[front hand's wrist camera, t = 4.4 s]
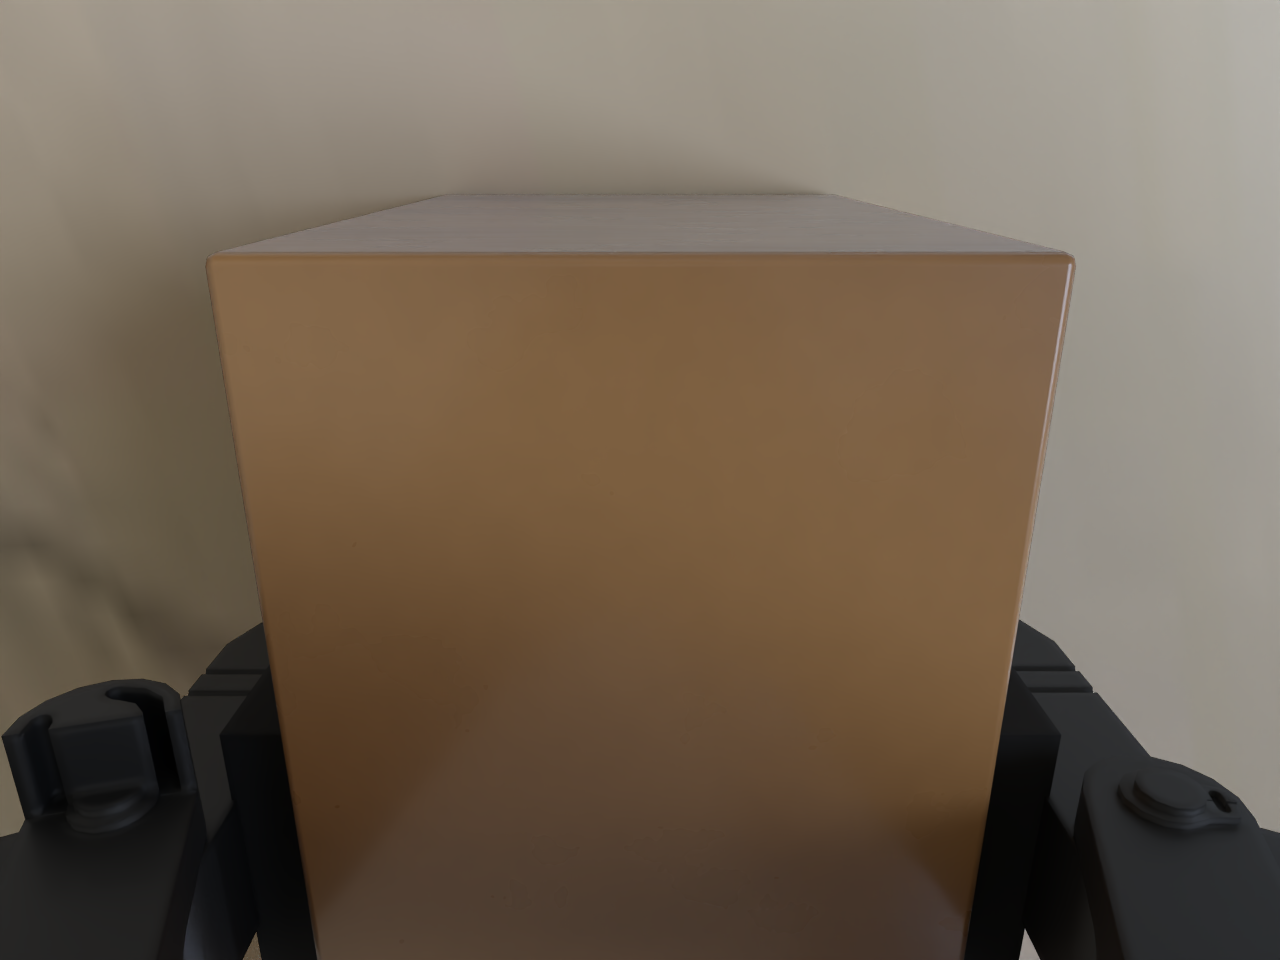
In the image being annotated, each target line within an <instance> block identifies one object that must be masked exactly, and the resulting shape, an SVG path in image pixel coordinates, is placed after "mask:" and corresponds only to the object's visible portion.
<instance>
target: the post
mask: <svg viewBox="0 0 1280 960" xmlns="http://www.w3.org/2000/svg"><path fill="white" fill-rule="evenodd" d="M1075 268H1076V265H1075V259H1074V257H1073V255H1070V254H1068V253H1066V252H1063V251H1059V250H1055V249H1051V248H1047V247H1043V246H1039V245H1035V244H1031V243H1027V242H1023V241H1019V240H1015V239H1011V238H1007V237H1003V236H999V235H995V234H991V233H987V232H983V231H979V230H975V229H971V228H967V227H963V226H959V225H954V224H950V223H946V222H942V221H938V220H934V219H930V218H926V217H922V216H918V215H914V214H910V213H906V212H902V211H898V210H894V209H890V208H886V207H882V206H878V205H874V204H870V203H866V202H862V201H858V200H854V199H850V198H846V197H842V196H837V195H833V194H745V195H443V196H439V197H435V198H431V199H427V200H423V201H419V202H415V203H411V204H407V205H403V206H399V207H395V208H391V209H387V210H383V211H379V212H375V213H371V214H367V215H363V216H359V217H355V218H351V219H347V220H343V221H339V222H335V223H331V224H327V225H323V226H319V227H315V228H311V229H307V230H303V231H299V232H295V233H291V234H287V235H283V236H279V237H275V238H271V239H267V240H263V241H259V242H255V243H251V244H247V245H243V246H239V247H235V248H231V249H227V250H223V251H219V252H216V253H214V254H211V255H209V256H208V257H207V261H206V272H207V279H208V285H209V291H210V297H211V303H212V310H213V316H214V322H215V328H216V334H217V341H218V347H219V353H220V359H221V365H222V372H223V378H224V384H225V390H226V396H227V403H228V409H229V415H230V421H231V427H232V434H233V440H234V446H235V452H236V458H237V465H238V471H239V477H240V483H241V489H242V496H243V502H244V508H245V514H246V520H247V527H248V533H249V539H250V545H251V551H252V558H253V564H254V570H255V576H256V582H257V589H258V595H259V601H260V607H261V613H262V620H263V626H264V632H265V638H266V644H267V650H268V657H269V663H270V669H271V675H272V681H273V688H274V694H275V700H276V706H277V712H278V719H279V725H280V731H281V737H282V743H283V750H284V756H285V762H286V768H287V774H288V781H289V787H290V793H291V799H292V805H293V812H294V818H295V824H296V830H297V836H298V843H299V849H300V855H301V861H302V867H303V874H304V880H305V886H306V892H307V898H308V905H309V911H310V917H311V923H312V929H313V936H314V942H315V948H316V954H317V960H964V955H965V949H966V943H967V937H968V930H969V924H970V918H971V912H972V906H973V900H974V893H975V887H976V881H977V875H978V869H979V862H980V856H981V850H982V844H983V838H984V831H985V825H986V819H987V813H988V807H989V801H990V794H991V788H992V782H993V776H994V770H995V763H996V757H997V751H998V745H999V739H1000V732H1001V726H1002V720H1003V714H1004V708H1005V702H1006V695H1007V689H1008V683H1009V677H1010V671H1011V664H1012V658H1013V652H1014V646H1015V640H1016V633H1017V627H1018V621H1019V615H1020V609H1021V602H1022V596H1023V590H1024V584H1025V578H1026V572H1027V565H1028V559H1029V553H1030V547H1031V541H1032V534H1033V528H1034V522H1035V516H1036V510H1037V503H1038V497H1039V491H1040V485H1041V479H1042V473H1043V466H1044V460H1045V454H1046V448H1047V442H1048V435H1049V429H1050V423H1051V417H1052V411H1053V404H1054V398H1055V392H1056V386H1057V380H1058V374H1059V367H1060V361H1061V355H1062V349H1063V343H1064V336H1065V330H1066V324H1067V318H1068V312H1069V305H1070V299H1071V293H1072V287H1073V281H1074V274H1075Z"/></svg>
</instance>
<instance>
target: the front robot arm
mask: <svg viewBox="0 0 1280 960" xmlns="http://www.w3.org/2000/svg"><path fill="white" fill-rule="evenodd" d="M1092 689H1093V687H1092V686H1091V685H1090V684H1089V682H1088V681H1087V680H1086V679H1085V678H1084V676H1083V675H1082V674H1081V673H1080V672H1079V671H1075V666H1074V664H1073V663H1072V662H1071V661H1070V660H1069V658H1068V657H1067V656H1066V655H1065V654H1064V652H1063V651H1062V650H1061V649H1060V648H1059V647H1058V645H1057V644H1056V643H1055V642H1054V641H1053V640H1051V639H1050V638H1048V637H1046V636H1045V635H1043V634H1042V633H1040V632H1038V631H1037V630H1035V629H1034V628H1032V627H1030V626H1029V625H1027V624H1025V623H1024V622H1022V621H1021V620H1019V621H1018V627H1017V633H1016V640H1015V646H1014V652H1013V658H1012V664H1011V671H1010V677H1009V683H1008V689H1007V695H1006V702H1005V708H1004V714H1003V720H1002V726H1001V732H1000V739H999V745H998V751H997V757H996V763H995V770H994V776H993V782H992V788H991V794H990V801H989V807H988V813H987V819H986V825H985V831H984V838H983V844H982V850H981V856H980V862H979V869H978V875H977V881H976V887H975V893H974V900H973V906H972V912H971V918H970V924H969V930H968V937H967V943H966V949H965V955H964V960H1019V956H1020V951H1021V946H1022V940H1023V935H1024V930H1025V929H1026V931H1027V933H1028V935H1029V937H1030V939H1031V941H1032V943H1033V946H1034V948H1035V950H1036V952H1037V954H1038V956H1039V958H1040V960H1280V833H1278V832H1274V831H1270V830H1267V829H1263V828H1259V826H1258V824H1257V821H1256V819H1255V818H1254V816H1253V815H1252V814H1251V813H1250V811H1249V810H1248V809H1247V808H1246V806H1245V805H1244V804H1243V802H1242V801H1241V800H1240V799H1239V797H1237V796H1236V795H1234V794H1233V793H1232V792H1230V791H1229V790H1227V789H1226V788H1225V787H1223V786H1222V785H1221V784H1219V783H1218V782H1216V781H1215V780H1214V779H1212V778H1210V777H1207V776H1205V775H1203V774H1201V773H1199V772H1197V771H1194V770H1192V769H1190V768H1188V767H1186V766H1183V765H1181V764H1177V763H1173V762H1169V761H1165V760H1161V759H1157V758H1154V757H1150V755H1149V754H1148V753H1147V752H1146V751H1145V749H1144V748H1143V747H1142V746H1141V745H1140V743H1139V742H1138V741H1137V740H1136V739H1135V737H1134V736H1133V735H1132V734H1131V733H1130V731H1129V730H1128V729H1127V728H1126V727H1125V726H1124V724H1123V723H1122V722H1121V721H1120V720H1119V718H1118V717H1117V716H1116V715H1115V714H1114V712H1113V711H1112V710H1111V709H1110V708H1109V706H1108V705H1107V704H1106V703H1105V702H1104V700H1103V699H1102V698H1101V697H1100V696H1099V694H1098V693H1093V690H1092ZM2 740H3V743H4V747H5V750H6V754H7V757H8V761H9V764H10V768H11V771H12V775H13V778H14V782H15V785H16V789H17V792H18V795H19V799H20V802H21V806H22V809H23V813H24V816H25V821H24V823H23V825H22V827H21V829H20V831H19V832H18V833H15V834H11V835H7V836H4V837H0V960H243V958H244V956H245V954H246V951H247V949H248V947H249V945H250V943H251V941H252V939H253V937H254V935H255V933H256V932H257V937H258V942H259V948H260V953H261V958H262V960H317V954H316V948H315V942H314V936H313V929H312V923H311V917H310V911H309V905H308V898H307V892H306V886H305V880H304V874H303V867H302V861H301V855H300V849H299V843H298V836H297V830H296V824H295V818H294V812H293V805H292V799H291V793H290V787H289V781H288V774H287V768H286V762H285V756H284V750H283V743H282V737H281V731H280V725H279V719H278V712H277V706H276V700H275V694H274V688H273V681H272V675H271V669H270V663H269V657H268V650H267V644H266V638H265V632H264V626H263V623H260V624H259V625H257V626H255V627H254V628H252V629H251V630H249V631H247V632H246V633H244V634H243V635H241V636H239V637H238V638H236V639H235V640H233V641H231V642H230V643H228V644H227V645H226V646H225V647H224V648H223V650H222V651H221V652H220V653H219V655H218V656H217V657H216V658H215V659H214V661H213V662H212V663H211V664H210V665H209V667H208V668H207V669H206V674H202V675H201V676H200V677H199V679H198V680H197V681H196V682H195V683H194V685H193V686H192V687H191V688H190V690H189V694H188V696H184V697H183V698H182V699H180V694H179V693H177V692H176V691H175V690H174V689H172V688H171V687H170V686H168V685H167V684H166V683H161V682H156V681H151V680H146V679H128V680H111V681H107V682H102V683H98V684H93V685H89V686H84V687H80V688H77V689H75V690H72V691H69V692H67V693H64V694H62V695H59V696H57V697H54V698H52V699H49V700H47V701H45V702H43V703H42V704H40V705H39V706H37V707H35V708H34V709H32V710H30V711H29V712H27V713H26V714H24V715H22V716H21V717H19V718H18V719H17V720H16V721H15V722H14V723H13V725H12V726H11V727H10V728H9V729H8V730H7V731H6V732H5V733H4V734H3V735H2Z"/></svg>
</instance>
